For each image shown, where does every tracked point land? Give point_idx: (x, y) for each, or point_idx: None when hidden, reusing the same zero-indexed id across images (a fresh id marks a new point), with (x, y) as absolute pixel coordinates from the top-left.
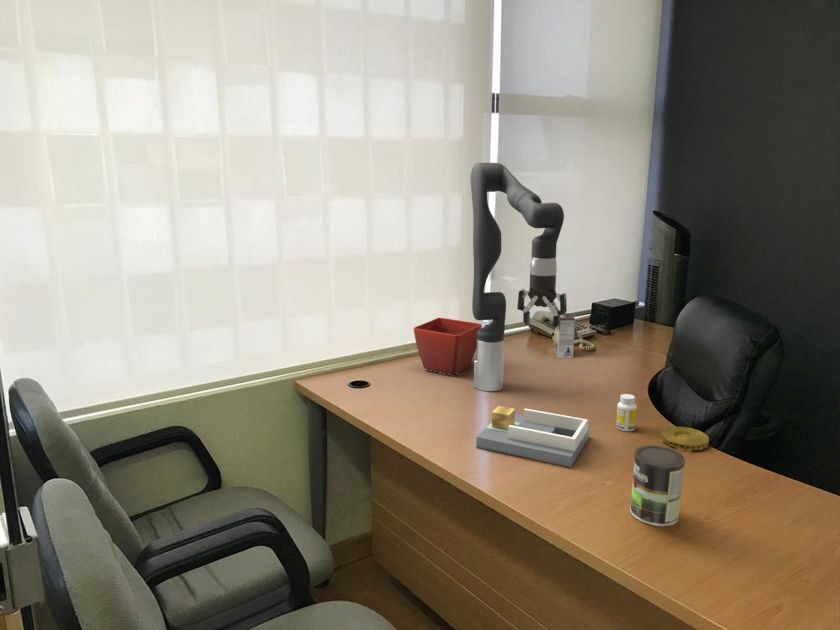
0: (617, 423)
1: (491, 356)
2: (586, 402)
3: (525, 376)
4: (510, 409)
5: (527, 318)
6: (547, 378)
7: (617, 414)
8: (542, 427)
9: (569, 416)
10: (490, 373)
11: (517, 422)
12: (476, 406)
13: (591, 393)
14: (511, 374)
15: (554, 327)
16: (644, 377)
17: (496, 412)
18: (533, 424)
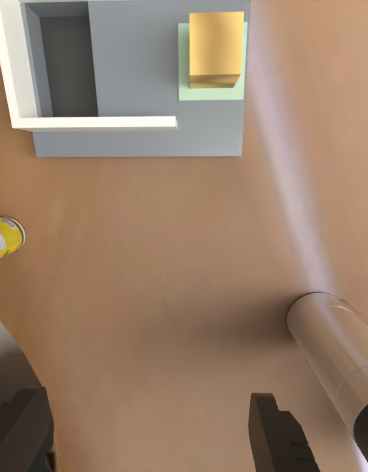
0: (13, 225)
1: (355, 353)
2: (113, 317)
3: (259, 391)
4: (200, 64)
5: (268, 452)
6: (216, 396)
7: (1, 232)
8: (124, 104)
9: (57, 125)
10: (328, 319)
11: (185, 100)
12: (313, 207)
13: (120, 359)
14: (288, 391)
15: (25, 388)
16: (65, 453)
17: (230, 16)
18: (149, 111)
